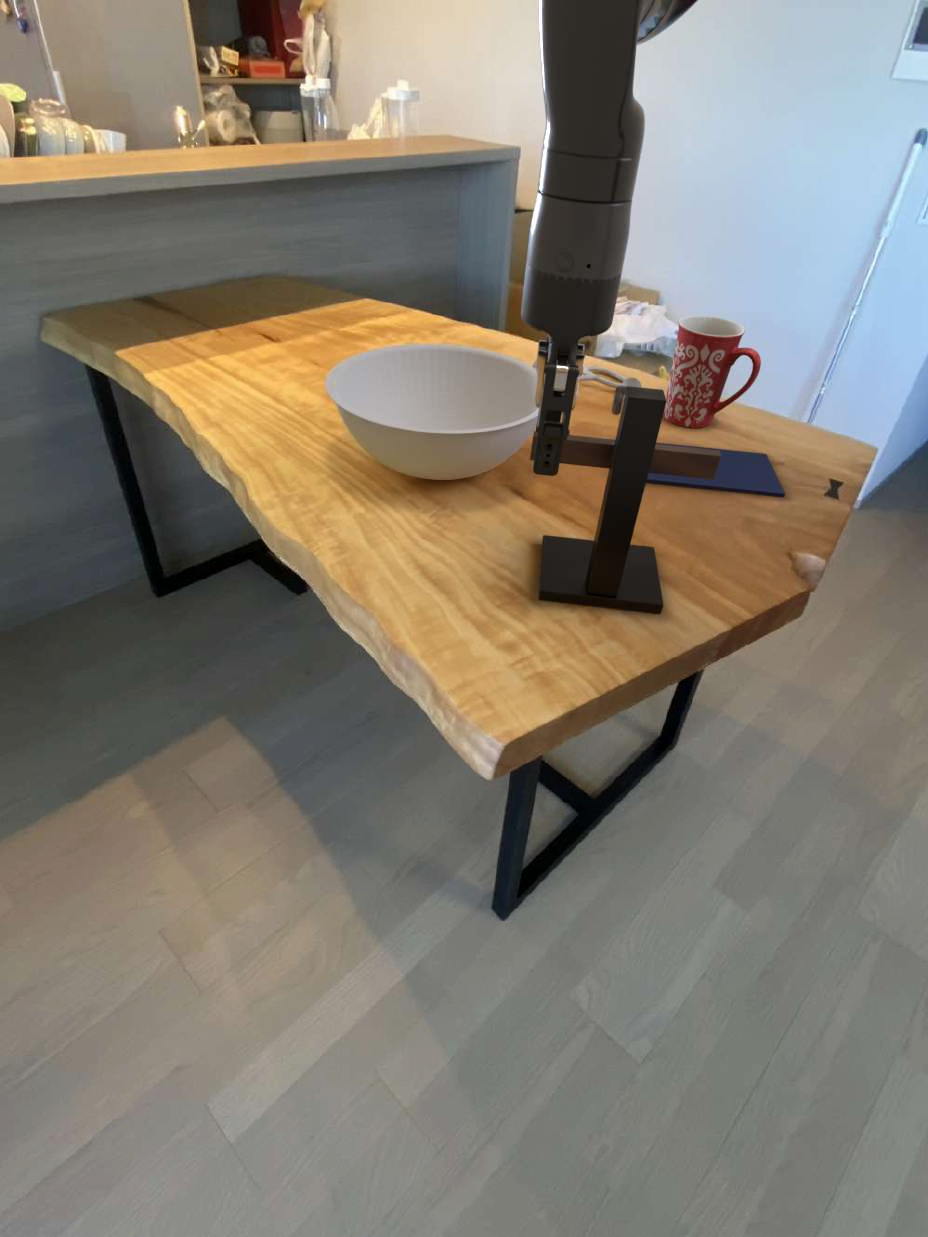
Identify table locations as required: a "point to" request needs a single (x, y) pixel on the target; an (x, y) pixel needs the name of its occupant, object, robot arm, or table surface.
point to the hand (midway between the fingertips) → (546, 451)
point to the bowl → (436, 407)
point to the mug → (704, 369)
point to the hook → (592, 376)
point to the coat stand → (613, 524)
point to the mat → (731, 474)
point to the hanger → (663, 459)
